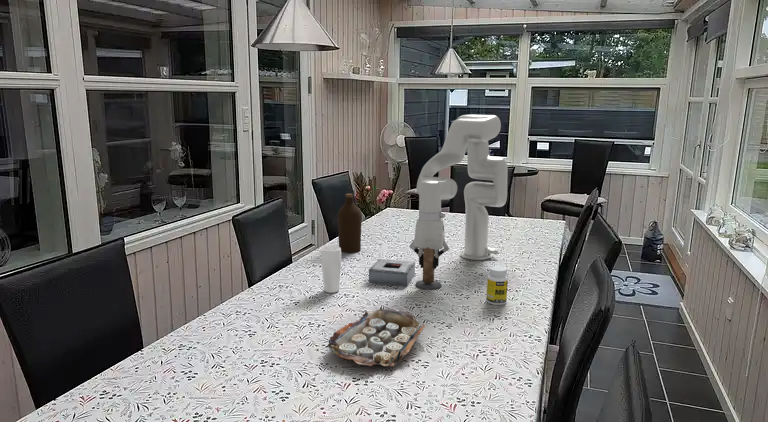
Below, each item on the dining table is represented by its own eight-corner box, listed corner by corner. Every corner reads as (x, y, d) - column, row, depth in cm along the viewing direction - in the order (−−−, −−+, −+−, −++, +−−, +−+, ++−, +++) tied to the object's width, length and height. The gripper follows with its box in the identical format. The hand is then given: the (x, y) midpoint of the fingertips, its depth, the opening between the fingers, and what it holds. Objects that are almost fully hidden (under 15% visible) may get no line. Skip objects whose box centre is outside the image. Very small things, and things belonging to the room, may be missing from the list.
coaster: (442, 282, 189) (442, 280, 189) (439, 290, 181) (439, 289, 181) (418, 280, 192) (418, 278, 192) (413, 288, 183) (413, 286, 183)
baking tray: (397, 384, 121) (398, 362, 120) (313, 366, 129) (313, 345, 128) (433, 332, 149) (434, 314, 148) (362, 319, 156) (362, 302, 155)
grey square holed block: (414, 274, 198) (415, 261, 197) (407, 286, 185) (407, 272, 184) (378, 271, 202) (378, 258, 201) (368, 283, 189) (368, 269, 188)
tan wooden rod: (434, 280, 187) (435, 236, 184) (432, 283, 183) (434, 239, 180) (423, 279, 188) (424, 235, 185) (421, 282, 184) (422, 238, 181)
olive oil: (346, 255, 224) (346, 196, 219) (332, 249, 232) (332, 193, 227) (366, 250, 231) (366, 194, 226) (352, 245, 239) (352, 191, 234)
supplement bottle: (494, 306, 167) (496, 272, 165) (482, 300, 172) (483, 267, 170) (510, 303, 170) (512, 269, 167) (497, 297, 175) (499, 264, 173)
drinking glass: (345, 289, 182) (344, 247, 179) (335, 295, 176) (334, 252, 173) (328, 286, 185) (327, 244, 182) (317, 292, 179) (317, 249, 176)
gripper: (455, 215, 183) (453, 266, 187) (408, 212, 187) (407, 262, 191) (452, 219, 176) (451, 272, 179) (403, 217, 180) (403, 268, 183)
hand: (428, 266), depth 185 cm, fingers closed on tan wooden rod, 4 cm apart
